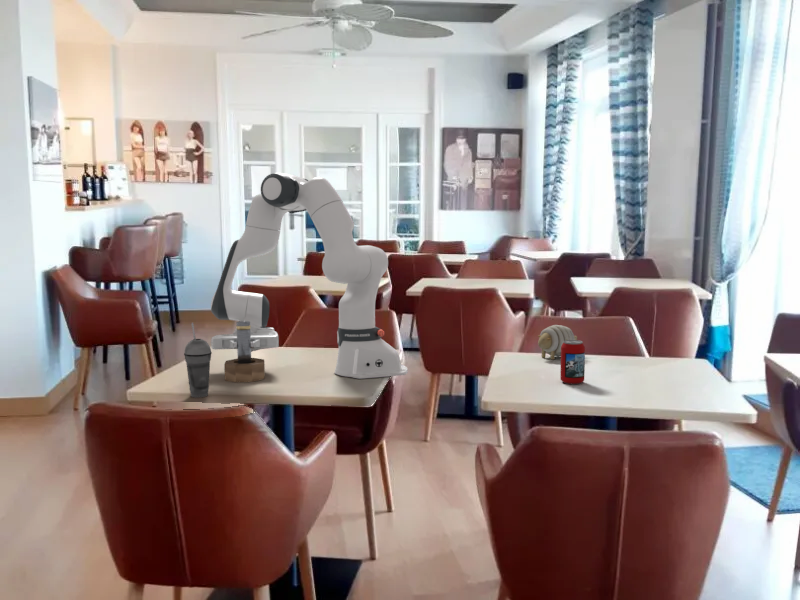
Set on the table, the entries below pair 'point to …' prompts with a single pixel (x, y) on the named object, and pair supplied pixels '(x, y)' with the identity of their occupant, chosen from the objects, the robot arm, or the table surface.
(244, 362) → the gold-banded metal cylinder
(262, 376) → the wooden octagonal ring
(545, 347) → the toy sheep
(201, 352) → the beverage cup
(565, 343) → the beverage can
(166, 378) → the table surface
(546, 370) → the table surface
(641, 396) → the table surface
